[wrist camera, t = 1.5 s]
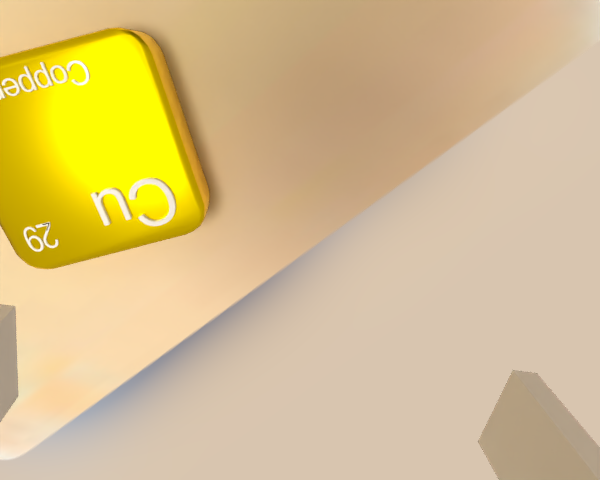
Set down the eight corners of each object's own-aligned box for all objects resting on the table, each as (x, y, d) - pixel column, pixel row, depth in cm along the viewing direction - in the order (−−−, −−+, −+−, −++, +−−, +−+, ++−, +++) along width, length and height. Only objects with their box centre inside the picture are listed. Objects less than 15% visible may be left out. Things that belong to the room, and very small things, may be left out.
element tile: (154, 23, 33) (138, 18, 28) (217, 210, 39) (211, 231, 34) (-42, 75, 33) (-89, 78, 28) (50, 254, 39) (23, 279, 34)
